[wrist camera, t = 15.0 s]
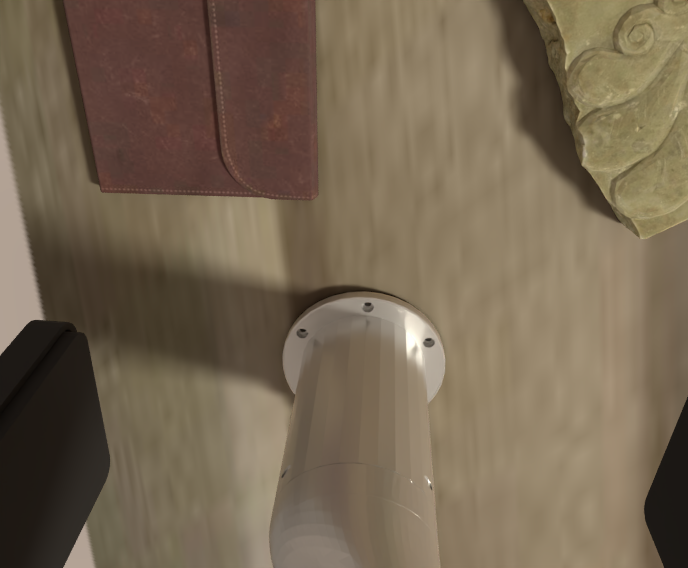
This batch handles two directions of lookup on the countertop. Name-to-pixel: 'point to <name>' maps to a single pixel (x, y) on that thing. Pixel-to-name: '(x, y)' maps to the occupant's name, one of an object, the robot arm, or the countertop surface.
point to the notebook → (199, 95)
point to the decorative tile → (625, 100)
